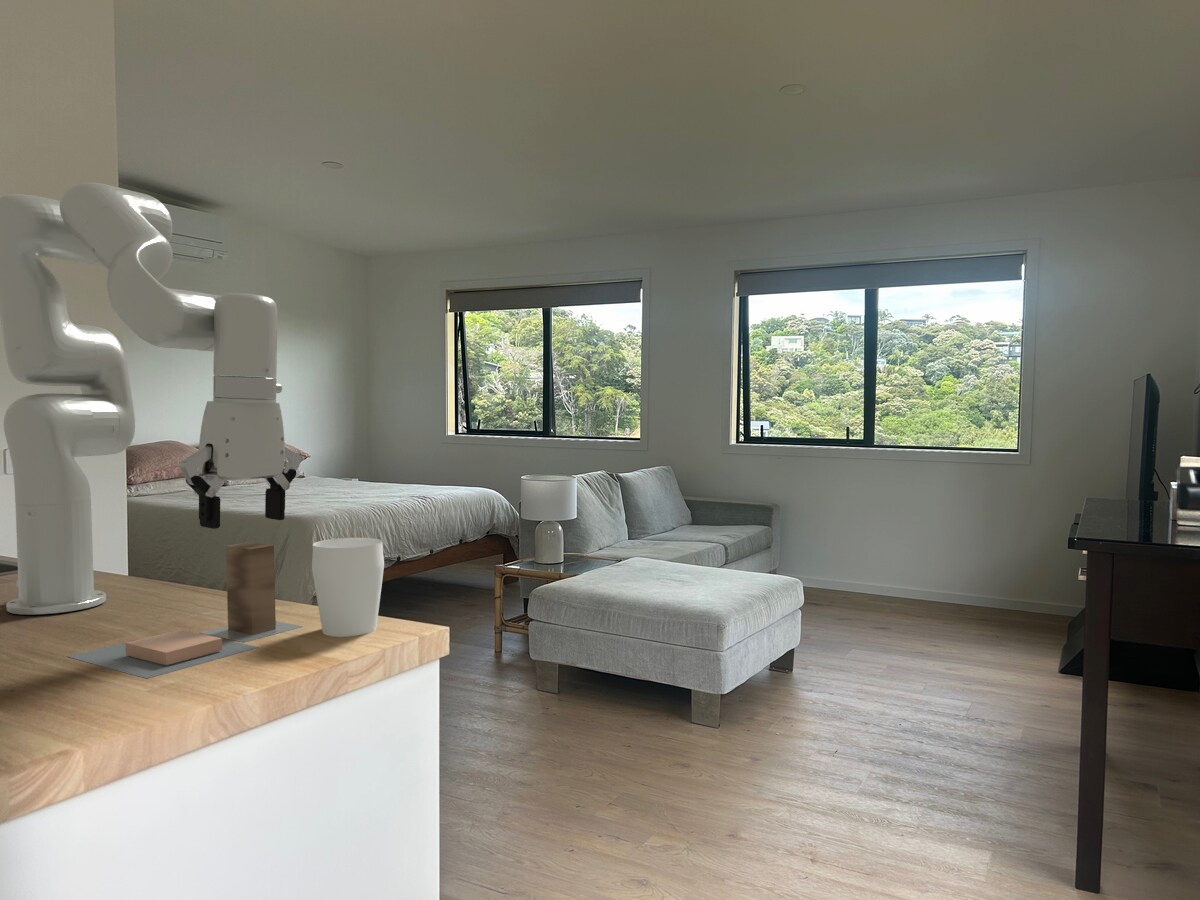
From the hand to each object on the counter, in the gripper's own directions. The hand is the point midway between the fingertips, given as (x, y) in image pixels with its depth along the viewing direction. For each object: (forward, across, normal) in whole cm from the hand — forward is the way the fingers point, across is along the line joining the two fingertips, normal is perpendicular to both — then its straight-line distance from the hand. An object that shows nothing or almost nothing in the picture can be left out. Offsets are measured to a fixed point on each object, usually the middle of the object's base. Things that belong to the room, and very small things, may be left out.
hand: (243, 523), depth 113 cm
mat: (+14, +12, +2) cm, 19 cm away
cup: (+14, -7, +13) cm, 20 cm away
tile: (+13, +12, 0) cm, 18 cm away
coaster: (+14, 0, +2) cm, 15 cm away
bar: (+14, 0, +2) cm, 14 cm away
